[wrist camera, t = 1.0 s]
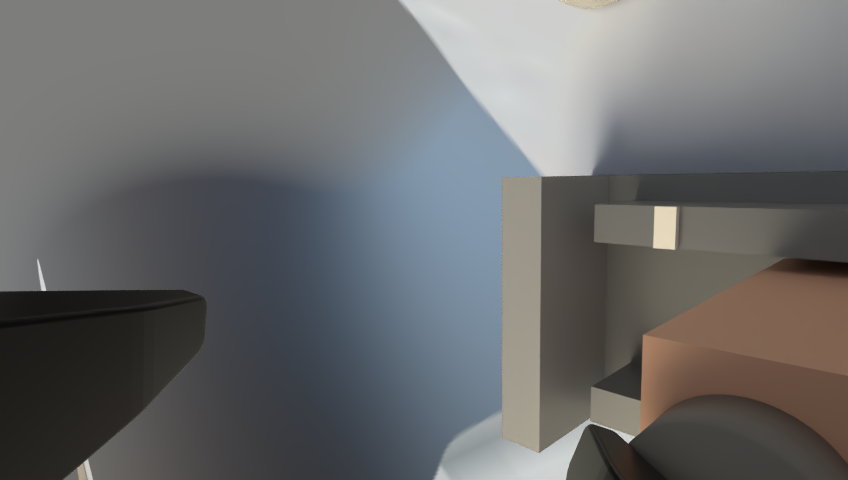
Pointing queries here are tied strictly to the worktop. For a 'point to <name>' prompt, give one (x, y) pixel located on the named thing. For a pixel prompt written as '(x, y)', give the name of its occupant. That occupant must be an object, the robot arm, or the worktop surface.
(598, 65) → the worktop surface
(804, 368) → the plug
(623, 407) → the socket track
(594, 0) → the beer glass
